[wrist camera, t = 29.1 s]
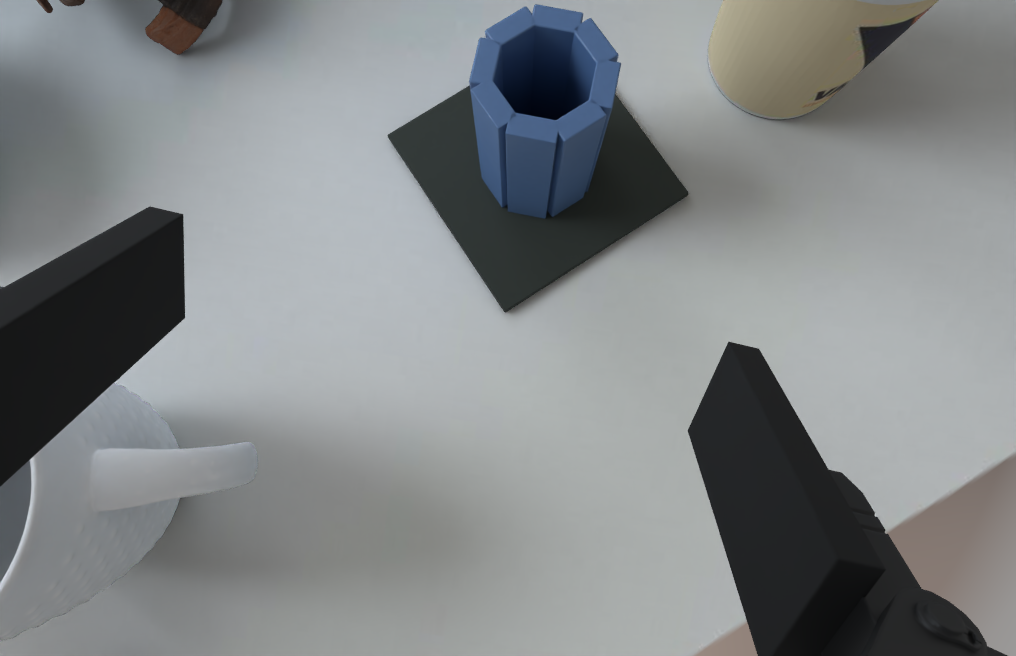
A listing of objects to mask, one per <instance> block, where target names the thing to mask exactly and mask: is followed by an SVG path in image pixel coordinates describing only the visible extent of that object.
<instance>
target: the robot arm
mask: <svg viewBox="0 0 1016 656" xmlns="http://www.w3.org/2000/svg"><path fill="white" fill-rule="evenodd" d="M184 318H185V291H184V231H183V214H179V213H175V212H171V211H167V210H162V209H158V208H154V207H148V208H146V209H144V210H143V211H141V212H139V213H137V214H135V215H134V216H132V217H130V218H128V219H126V220H125V221H123V222H121V223H119V224H117V225H116V226H114V227H112V228H110V229H108V230H107V231H105V232H103V233H101V234H99V235H98V236H96V237H94V238H92V239H90V240H89V241H87V242H85V243H83V244H81V245H80V246H78V247H76V248H74V249H72V250H71V251H69V252H67V253H65V254H63V255H62V256H60V257H58V258H56V259H54V260H53V261H51V262H49V263H47V264H45V265H44V266H42V267H40V268H38V269H36V270H35V271H33V272H31V273H29V274H27V275H26V276H24V277H22V278H20V279H18V280H17V281H15V282H13V283H11V284H9V285H8V286H6V287H0V487H1V486H2V485H3V484H4V483H5V482H6V481H7V480H8V479H9V478H10V477H12V476H13V475H14V474H15V473H16V472H17V471H18V470H19V469H20V468H21V467H22V466H24V465H25V464H26V463H27V462H28V461H29V460H30V459H31V458H32V457H33V456H34V455H36V454H37V453H38V452H39V451H40V450H41V449H42V448H43V447H44V446H45V445H47V444H48V443H49V442H50V441H51V440H52V439H53V438H54V437H55V436H56V435H57V434H59V433H60V432H61V431H62V430H63V429H64V428H65V427H66V426H67V425H68V424H69V423H71V422H72V421H73V420H74V419H75V418H76V417H77V416H78V415H79V414H80V413H81V412H83V411H84V410H85V409H86V408H87V407H88V406H89V405H90V404H91V403H92V402H93V401H95V400H96V399H97V398H98V397H99V396H100V395H101V394H102V393H103V392H104V391H106V390H107V389H108V388H109V387H110V386H111V385H112V384H113V383H114V382H115V381H116V380H118V379H119V378H120V377H121V376H122V375H123V374H124V373H125V372H126V371H127V370H128V369H130V368H131V367H132V366H133V365H134V364H135V363H136V362H137V361H138V360H139V359H140V358H142V357H143V356H144V355H145V354H146V353H147V352H148V351H149V350H150V349H151V348H152V347H154V346H155V345H156V344H157V343H158V342H159V341H160V340H161V339H162V338H163V337H165V336H166V335H167V334H168V333H169V332H170V331H171V330H172V329H173V328H174V327H175V326H177V325H178V324H179V323H180V322H181V321H182V320H183V319H184ZM688 433H689V436H690V439H691V442H692V446H693V449H694V452H695V455H696V458H697V462H698V465H699V468H700V471H701V474H702V478H703V481H704V484H705V487H706V490H707V494H708V497H709V500H710V503H711V507H712V510H713V513H714V516H715V519H716V523H717V526H718V529H719V532H720V535H721V539H722V542H723V545H724V548H725V551H726V555H727V558H728V561H729V564H730V568H731V571H732V574H733V577H734V580H735V584H736V587H737V590H738V593H739V596H740V600H741V603H742V606H743V609H744V612H745V616H746V619H747V622H748V625H749V629H750V632H751V635H752V638H753V641H754V645H755V648H756V651H757V654H758V656H1007V655H1005V654H1003V653H1001V652H998V651H996V650H994V649H992V648H989V647H987V644H986V642H985V640H984V638H983V636H982V634H981V633H980V631H979V629H978V628H977V627H976V626H975V625H974V624H973V622H972V621H971V620H970V619H969V618H968V617H967V616H966V615H965V614H964V613H963V612H962V611H960V610H959V609H958V608H957V607H955V606H954V605H953V604H951V603H950V602H949V601H947V600H945V599H943V598H942V597H940V596H938V595H936V594H934V593H932V592H930V591H927V590H923V589H921V587H920V585H919V584H918V582H917V581H916V579H915V577H914V576H913V574H912V572H911V571H910V569H909V568H908V566H907V564H906V563H905V561H904V559H903V558H902V556H901V555H900V553H899V551H898V550H897V548H896V547H895V545H894V543H893V542H892V540H891V538H890V537H889V535H888V534H885V529H884V527H883V525H882V524H881V522H880V521H879V519H878V517H875V516H874V514H875V512H874V511H873V509H872V508H871V506H870V504H869V503H868V501H867V499H866V498H865V496H864V495H863V493H862V492H861V491H860V490H859V489H858V488H857V487H856V486H855V485H854V484H853V483H852V482H851V481H850V480H849V479H848V478H847V477H846V476H845V475H844V474H842V473H841V472H836V471H832V470H828V468H827V466H826V465H825V463H824V461H823V459H822V458H821V456H820V454H819V452H818V451H817V449H816V447H815V445H814V444H813V442H812V440H811V439H810V437H809V435H808V433H807V432H806V430H805V428H804V426H803V425H802V423H801V421H800V419H799V418H798V416H797V414H796V412H795V411H794V409H793V407H792V406H791V404H790V402H789V400H788V399H787V397H786V395H785V393H784V392H783V390H782V388H781V386H780V385H779V383H778V381H777V380H776V378H775V376H774V374H773V373H772V371H771V369H770V367H769V366H768V364H767V362H766V360H765V359H764V357H763V355H762V353H761V352H760V350H759V349H758V348H753V347H749V346H745V345H740V344H736V343H732V342H728V344H727V346H726V349H725V351H724V353H723V355H722V357H721V359H720V362H719V364H718V366H717V368H716V370H715V372H714V375H713V377H712V379H711V381H710V383H709V386H708V388H707V390H706V392H705V394H704V396H703V399H702V401H701V403H700V405H699V407H698V409H697V412H696V414H695V416H694V418H693V420H692V423H691V425H690V427H689V429H688Z"/></svg>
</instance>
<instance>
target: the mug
mask: <svg viewBox="0 0 1016 656" xmlns="http://www.w3.org/2000/svg"><path fill="white" fill-rule="evenodd" d="M257 466H258V456H257V451H256V448H255V446H254V445H253V444H252V443H251V442H242V443H235V444H229V445H221V446H210V447H200V448H186V449H179V446H178V443H177V441H176V438H175V436H174V435H173V433H172V432H171V429H170V427H169V425H168V424H167V423H166V422H165V421H164V420H163V419H162V417H161V416H160V414H159V413H158V412H157V411H155V410H154V409H153V408H152V407H151V405H150V404H149V403H147V402H145V401H143V400H142V399H141V398H140V397H139V396H138V395H136V394H134V393H132V392H129V391H128V390H127V389H126V388H125V387H124V386H122V385H118V384H115V383H113V384H112V385H111V386H110V387H109V388H108V389H107V390H106V391H104V392H103V393H102V394H101V395H100V396H99V397H98V398H97V399H96V400H95V401H93V402H92V403H91V404H90V405H89V406H88V407H87V408H86V409H85V410H84V411H83V412H81V413H80V414H79V415H78V416H77V417H76V418H75V419H74V420H73V421H72V422H71V423H69V424H68V425H67V426H66V427H65V428H64V429H63V430H62V431H61V432H60V433H59V434H57V435H56V436H55V437H54V438H53V439H52V440H51V441H50V442H49V443H48V444H47V445H45V446H44V447H43V448H42V449H41V450H40V451H39V452H38V453H37V454H36V455H34V456H33V457H32V458H31V459H30V460H29V461H28V462H27V463H26V464H25V465H24V466H22V467H21V468H20V469H19V470H18V471H17V472H16V473H15V474H14V475H13V476H12V477H10V478H9V479H8V480H7V481H6V482H5V483H4V484H3V485H2V486H1V487H0V641H3V640H7V639H11V638H13V637H16V636H17V635H19V634H20V633H22V632H23V631H26V630H28V629H31V628H34V627H38V626H40V625H42V624H43V623H45V622H46V621H48V620H49V619H51V618H53V617H56V616H60V615H63V614H66V613H67V612H68V611H70V610H71V609H72V608H73V607H75V606H77V605H79V604H82V603H85V602H87V601H89V600H90V599H91V598H92V597H93V596H94V595H96V594H97V593H99V592H101V591H103V590H105V589H107V588H108V587H109V586H110V585H111V584H112V583H113V582H115V581H116V580H117V579H119V578H121V577H123V576H124V575H126V573H127V572H128V571H129V569H130V568H132V567H133V566H134V565H136V564H137V563H139V562H140V561H141V559H142V558H143V557H144V555H145V554H146V553H147V552H149V551H150V550H151V549H152V548H153V546H154V545H155V543H156V541H157V540H158V539H160V538H161V537H162V535H163V534H164V532H165V530H166V528H167V526H168V525H169V524H170V522H171V521H172V518H173V515H174V513H175V511H176V508H177V506H178V503H179V500H180V498H183V497H190V496H196V495H201V494H207V493H212V492H218V491H223V490H228V489H232V488H236V487H239V486H242V485H245V484H248V483H250V482H251V481H252V480H253V479H254V477H255V475H256V472H257Z"/></svg>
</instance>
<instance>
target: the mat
mask: <svg viewBox="0 0 1016 656" xmlns="http://www.w3.org/2000/svg"><path fill="white" fill-rule="evenodd" d="M388 138H389V139H390V141H391V142H392V144H393V145H394V147H395V148H396V150H397V151H398V153H399V154H400V156H401V157H402V159H403V160H404V162H405V163H406V165H407V166H408V168H409V169H410V171H411V172H412V174H413V175H414V177H415V178H416V180H417V181H418V183H419V184H420V186H421V187H422V189H423V190H424V192H425V193H426V195H427V196H428V198H429V199H430V201H431V202H432V204H433V205H434V207H435V208H436V210H437V212H438V213H439V215H440V216H441V218H442V219H443V221H444V222H445V224H446V225H447V227H448V228H449V230H450V231H451V233H452V234H453V236H454V237H455V239H456V240H457V242H458V243H459V245H460V246H461V248H462V249H463V251H464V252H465V254H466V255H467V257H468V258H469V260H470V261H471V263H472V264H473V266H474V267H475V269H476V270H477V272H478V273H479V275H480V276H481V278H482V279H483V281H484V282H485V284H486V285H487V287H488V288H489V290H490V291H491V293H492V294H493V296H494V297H495V299H496V300H497V302H498V303H499V305H500V306H501V308H502V309H503V311H504V312H507V311H508V310H510V309H512V308H513V307H515V306H516V305H518V304H519V303H521V302H522V301H524V300H526V299H527V298H529V297H530V296H532V295H533V294H535V293H536V292H538V291H540V290H541V289H543V288H544V287H546V286H547V285H549V284H550V283H552V282H554V281H555V280H557V279H558V278H560V277H561V276H563V275H565V274H566V273H568V272H569V271H571V270H572V269H574V268H575V267H577V266H579V265H580V264H582V263H583V262H585V261H586V260H588V259H589V258H591V257H593V256H594V255H596V254H597V253H599V252H600V251H602V250H603V249H605V248H607V247H608V246H610V245H611V244H613V243H614V242H616V241H617V240H619V239H621V238H622V237H624V236H625V235H627V234H628V233H630V232H631V231H633V230H635V229H636V228H638V227H639V226H641V225H642V224H644V223H646V222H647V221H649V220H650V219H652V218H653V217H655V216H656V215H658V214H660V213H661V212H663V211H664V210H666V209H667V208H669V207H670V206H672V205H674V204H675V203H677V202H678V201H680V200H681V199H683V198H684V197H686V196H687V195H688V194H689V193H688V191H687V190H686V189H685V187H684V186H683V185H682V183H681V182H680V181H679V179H678V178H677V176H676V175H675V174H674V172H673V171H672V170H671V168H670V167H669V166H668V164H667V163H666V162H665V160H664V159H663V158H662V156H661V155H660V154H659V152H658V151H657V150H656V148H655V147H654V146H653V144H652V143H651V141H650V140H649V139H648V137H647V136H646V135H645V133H644V132H643V131H642V129H641V128H640V127H639V125H638V124H637V123H636V121H635V120H634V119H633V117H632V116H631V115H630V113H629V112H628V111H627V109H626V108H625V107H624V105H623V104H622V102H621V101H620V100H619V98H618V97H617V96H616V94H615V97H614V102H613V107H612V111H611V114H610V118H609V121H608V124H607V128H606V131H605V135H604V138H603V142H602V145H601V148H600V152H599V155H598V159H597V162H596V165H595V169H594V172H593V176H592V179H591V182H590V186H589V189H588V192H585V193H584V197H583V198H582V199H580V200H579V201H577V202H576V203H574V204H573V205H571V206H569V207H568V208H566V209H565V210H563V211H561V212H560V213H558V214H557V215H555V216H554V217H552V216H551V215H550V214H549V212H548V211H547V214H546V218H545V219H544V218H539V217H534V216H529V215H523V214H518V213H513V212H508V205H506V206H504V207H501V205H500V204H499V202H498V201H497V200H496V198H495V197H494V195H493V194H492V192H491V191H490V189H489V188H488V186H487V185H486V184H485V182H484V181H483V179H482V176H481V169H480V162H479V154H478V146H477V138H476V130H475V122H474V114H473V106H472V98H471V91H470V86H468V87H466V88H465V89H463V90H461V91H460V92H458V93H456V94H455V95H453V96H452V97H450V98H448V99H447V100H445V101H443V102H442V103H440V104H438V105H437V106H435V107H433V108H432V109H430V110H428V111H427V112H425V113H423V114H422V115H420V116H418V117H417V118H415V119H413V120H412V121H410V122H408V123H407V124H405V125H403V126H402V127H400V128H398V129H397V130H395V131H393V132H392V133H390V134H388Z"/></svg>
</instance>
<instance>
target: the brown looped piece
mask: <svg viewBox="0 0 1016 656" xmlns="http://www.w3.org/2000/svg"><path fill="white" fill-rule="evenodd" d="M60 1H61V2H62V3H63V4H64V5H66V6H77V5H81V4H83V3H84V2H85V0H60ZM158 1H160V2H161V3H162V4H163V7H162V8H161V10H160V12H159V14H158V15H157V16H156V17H155V19H154V20H153V21H152V22H151V23H150V24H149V25H148V26H147V27H146V29H145V31H146V34H147V36H148V37H149V38H150V39H152V40H153V41H155V42H157V43H160V44H161V45H163V46H164V47H166V48H167V49H169V50H171V51H172V52H173V53H175V54H177V55H179V54H181V53H183V52H184V51H185V50H187V49H188V48H189V47H190V46H191V45H192V44H193V43H194V42H195V41H196V40H197V39H198V37H199V36H200V35H201V34H202V32H203V30H204V29H206V27H207V26H208V24H209V23H210V21H211V20H212V18H213V17H215V16H216V14H217V10H218V8H219V7H220V5H221V4H222V0H158ZM37 2H38V3H39V4H40V5H41V6H42V7H43V9H44V10H45V11H46V12H47V13H51V12H52V11H53V8H52V6H51V5H50V3H49V2H48V0H37Z"/></svg>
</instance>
